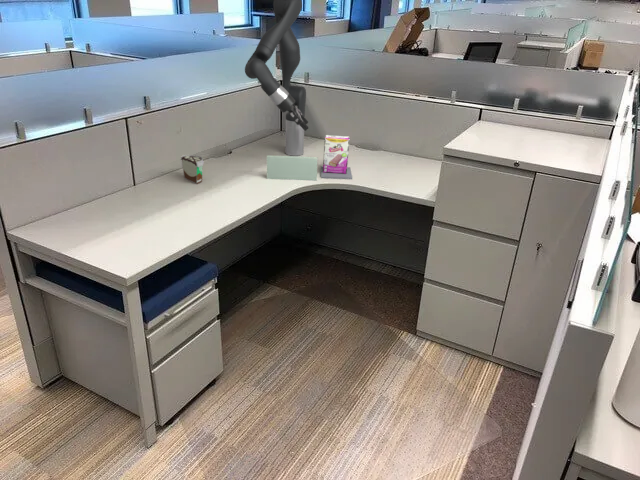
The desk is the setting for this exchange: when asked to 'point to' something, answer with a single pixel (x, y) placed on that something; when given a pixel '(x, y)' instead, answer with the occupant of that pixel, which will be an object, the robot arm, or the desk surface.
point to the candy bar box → (336, 154)
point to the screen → (292, 167)
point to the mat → (336, 174)
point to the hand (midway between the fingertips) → (306, 126)
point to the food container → (192, 168)
